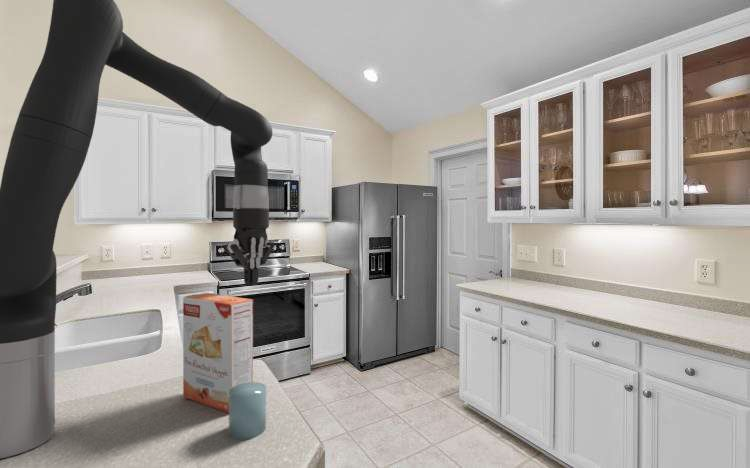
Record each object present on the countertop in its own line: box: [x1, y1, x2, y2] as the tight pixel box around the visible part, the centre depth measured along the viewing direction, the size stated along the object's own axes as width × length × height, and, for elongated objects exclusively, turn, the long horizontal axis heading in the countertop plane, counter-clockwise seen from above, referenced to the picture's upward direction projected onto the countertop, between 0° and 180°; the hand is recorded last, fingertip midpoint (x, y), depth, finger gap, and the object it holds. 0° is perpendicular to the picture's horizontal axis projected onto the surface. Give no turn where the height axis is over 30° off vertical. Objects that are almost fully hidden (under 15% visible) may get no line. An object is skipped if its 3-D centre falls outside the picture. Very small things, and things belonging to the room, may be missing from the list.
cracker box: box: [182, 292, 254, 414], centre depth 73 cm, size 14×6×21 cm, turn 62°
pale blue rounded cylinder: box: [228, 381, 267, 441], centre depth 63 cm, size 6×6×7 cm
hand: (251, 285), depth 81 cm, fingers closed
